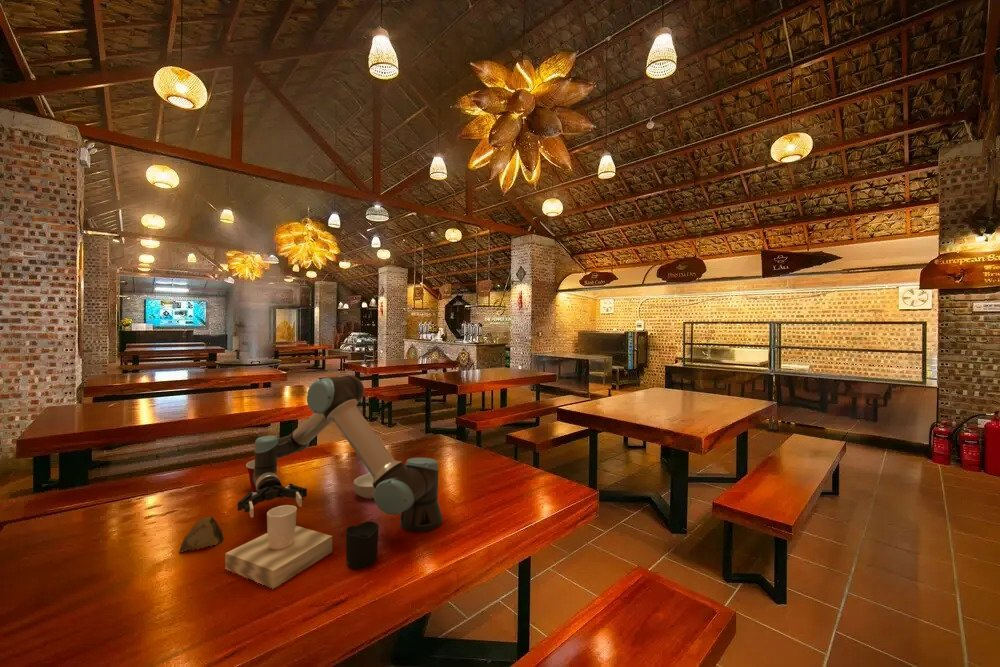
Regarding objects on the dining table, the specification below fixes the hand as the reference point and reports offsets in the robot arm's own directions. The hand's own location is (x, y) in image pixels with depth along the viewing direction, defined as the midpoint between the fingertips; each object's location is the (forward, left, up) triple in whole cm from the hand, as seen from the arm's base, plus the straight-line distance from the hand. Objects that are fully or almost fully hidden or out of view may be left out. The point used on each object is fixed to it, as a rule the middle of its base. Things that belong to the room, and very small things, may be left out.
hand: (277, 507), depth 126 cm
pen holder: (-30, -5, -13) cm, 33 cm away
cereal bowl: (0, -45, -13) cm, 47 cm away
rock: (+22, +10, -13) cm, 27 cm away
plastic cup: (+48, -28, -13) cm, 57 cm away
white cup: (-8, +5, -8) cm, 12 cm away
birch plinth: (-8, +5, -13) cm, 16 cm away
